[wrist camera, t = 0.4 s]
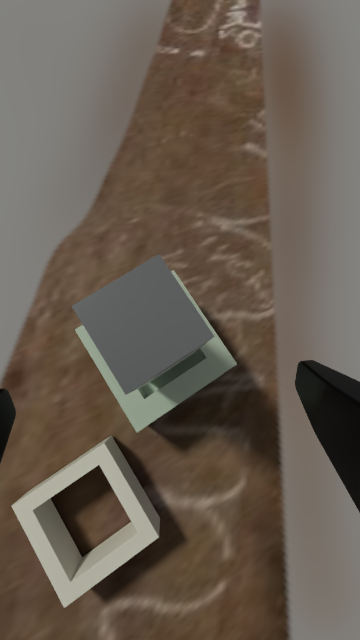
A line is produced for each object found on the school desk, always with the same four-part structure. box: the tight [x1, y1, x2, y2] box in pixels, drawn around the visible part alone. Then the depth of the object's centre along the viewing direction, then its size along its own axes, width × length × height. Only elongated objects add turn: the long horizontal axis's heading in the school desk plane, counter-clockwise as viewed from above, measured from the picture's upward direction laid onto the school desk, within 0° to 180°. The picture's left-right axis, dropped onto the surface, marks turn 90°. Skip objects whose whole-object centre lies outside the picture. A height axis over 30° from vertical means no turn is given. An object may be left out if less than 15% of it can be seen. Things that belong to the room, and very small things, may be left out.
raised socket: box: [75, 270, 237, 432], centre depth 21 cm, size 8×8×4 cm
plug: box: [72, 254, 215, 395], centre depth 16 cm, size 4×4×12 cm
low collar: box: [12, 435, 160, 608], centre depth 20 cm, size 7×7×2 cm
